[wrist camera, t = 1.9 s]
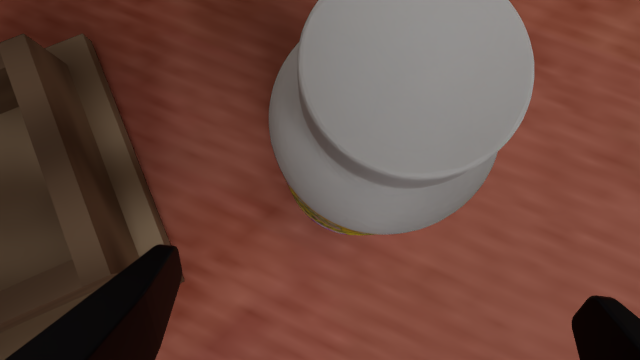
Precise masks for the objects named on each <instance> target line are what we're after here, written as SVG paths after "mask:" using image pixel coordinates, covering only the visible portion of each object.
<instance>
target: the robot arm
mask: <svg viewBox="0 0 640 360" xmlns="http://www.w3.org/2000/svg"><path fill="white" fill-rule="evenodd" d="M181 278H182V268H181V263H180V257H179V252H178V249H177V247H176V246H172V245H163V244H158V245H156V246H154V247H152V248H151V249H150V250H149V251H147V252H146V253H145V254H143V255H142V256H141V257H139V258H138V259H137V260H135V261H134V262H133V263H131V264H130V265H129V266H127V267H126V268H125V269H123V270H122V271H121V272H119V273H118V274H117V275H116V276H114V277H113V278H112V279H110V280H109V281H108V282H106V283H105V284H104V285H102V286H101V287H100V288H98V289H97V290H96V291H94V292H93V293H92V294H90V295H89V296H88V297H87V298H85V299H84V300H83V301H81V302H80V303H79V304H77V305H76V306H75V307H73V308H72V309H71V310H69V311H68V312H67V313H65V314H64V315H63V316H61V317H60V318H59V319H57V320H56V321H55V322H54V323H52V324H51V325H50V326H48V327H47V328H46V329H44V330H43V331H42V332H40V333H39V334H38V335H36V336H35V337H34V338H32V339H31V340H30V341H28V342H27V343H26V344H25V345H23V346H22V347H21V348H19V349H18V350H17V351H15V352H14V353H13V354H11V355H10V356H9V357H7V358H6V359H5V360H155V358H156V356H157V354H158V351H159V349H160V346H161V343H162V340H163V337H164V334H165V331H166V327H167V324H168V321H169V318H170V314H171V311H172V308H173V305H174V301H175V298H176V295H177V292H178V289H179V285H180V282H181ZM572 330H573V334H574V338H575V342H576V346H577V350H578V354H579V358H580V360H640V319H639V318H638V317H637V316H636V315H634V314H633V313H632V312H631V311H630V310H628V309H627V308H626V307H625V306H623V305H622V304H621V303H620V302H618V301H617V300H616V299H614V298H611V297H604V296H591V297H589V298H588V299H587V300H586V301H585V303H584V304H583V305H582V306H581V308H580V309H579V310H578V311H577V312H576V314H575V315H574V316H573V319H572Z"/></svg>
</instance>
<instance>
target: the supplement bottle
mask: <svg viewBox="0 0 640 360" xmlns="http://www.w3.org/2000/svg"><path fill="white" fill-rule="evenodd" d="M533 83H534V57H533V51H532V47H531V43H530V39H529V36H528V33H527V31H526V28H525V26H524V24H523V22H522V20H521V18H520V16H519V14H518V13H517V11H516V10H515V8H514V7H513V5H512V4H511V3H510V1H509V0H318V2H317V3H316V4H315V6H314V8H313V9H312V11H311V13H310V14H309V16H308V18H307V20H306V22H305V25H304V28H303V30H302V33H301V37H300V42H299V43H298V44H297V45H296V46H295V47H294V49H293V50H292V51H291V52H290V54H289V55H288V57H287V58H286V60H285V61H284V63H283V65H282V67H281V69H280V71H279V73H278V75H277V77H276V80H275V83H274V86H273V90H272V94H271V99H270V105H269V131H270V138H271V144H272V147H273V151H274V154H275V157H276V159H277V162H278V165H279V167H280V169H281V171H282V173H283V175H284V177H285V180H286V182H287V184H288V186H289V188H290V190H291V192H292V194H293V196H294V198H295V200H296V202H297V203H298V205H299V206H300V208H301V209H302V210H303V211H304V213H305V214H306V215H307V216H308V217H309V218H311V219H312V220H313V221H314V222H316V223H317V224H319V225H320V226H322V227H324V228H326V229H328V230H331V231H334V232H337V233H341V234H347V235H374V234H399V233H406V232H411V231H415V230H419V229H422V228H425V227H428V226H430V225H432V224H435V223H437V222H439V221H441V220H443V219H444V218H446V217H447V216H449V215H451V214H452V213H454V212H455V211H457V210H458V209H459V208H461V207H462V206H463V205H464V204H465V203H466V202H467V201H469V200H470V199H471V198H472V196H473V195H474V194H475V193H476V192H477V191H478V190H479V188H480V187H481V186H482V184H483V182H484V181H485V179H486V178H487V176H488V174H489V172H490V170H491V168H492V166H493V164H494V161H495V159H496V156H497V152H498V151H499V150H500V149H501V148H502V147H503V146H504V145H505V144H506V143H507V142H508V141H509V140H510V138H511V137H512V135H513V134H514V133H515V131H516V130H517V128H518V127H519V125H520V123H521V122H522V120H523V118H524V115H525V113H526V111H527V108H528V105H529V102H530V99H531V95H532V89H533Z"/></svg>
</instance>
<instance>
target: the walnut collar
mask: <svg viewBox="0 0 640 360" xmlns="http://www.w3.org/2000/svg"><path fill="white" fill-rule="evenodd" d="M158 244H163V245H170V242H169V240H168V237H167V235H166V232H165V229H164V227H163V224H162V222H161V219H160V217H159V214H158V211H157V209H156V206H155V204H154V201H153V199H152V196H151V193H150V191H149V188H148V186H147V183H146V181H145V178H144V175H143V173H142V170H141V168H140V165H139V163H138V160H137V157H136V155H135V152H134V150H133V147H132V145H131V142H130V139H129V137H128V134H127V132H126V129H125V127H124V124H123V121H122V119H121V116H120V114H119V111H118V109H117V106H116V103H115V101H114V98H113V96H112V93H111V91H110V88H109V85H108V83H107V80H106V78H105V75H104V73H103V70H102V67H101V65H100V62H99V60H98V57H97V55H96V52H95V49H94V47H93V44H92V42H91V41H90V40H89V39H88V38H87V37H86V36H85V35H84V34H80V35H78V36H75V37H72V38H70V39H67V40H65V41H62V42H60V43H57V44H55V45H52V46H50V47H47V48H43V47H42V46H40V45H39V44H38V43H36V42H35V41H33V40H32V39H31V38H29V37H28V36H26V35H25V34H21V35H19V36H16V37H13V38H11V39H8V40H6V41H3V42H1V43H0V360H5V359H6V358H7V357H9V356H10V355H11V354H13V353H14V352H15V351H17V350H18V349H19V348H21V347H22V346H23V345H25V344H26V343H27V342H28V341H30V340H31V339H32V338H34V337H35V336H36V335H38V334H39V333H40V332H42V331H43V330H44V329H46V328H47V327H48V326H50V325H51V324H52V323H54V322H55V321H56V320H57V319H59V318H60V317H61V316H63V315H64V314H65V313H67V312H68V311H69V310H71V309H72V308H73V307H75V306H76V305H77V304H79V303H80V302H81V301H83V300H84V299H85V298H87V297H88V296H89V295H90V294H92V293H93V292H94V291H96V290H97V289H98V288H100V287H101V286H102V285H104V284H105V283H106V282H108V281H109V280H110V279H112V278H113V277H114V276H116V275H117V274H118V273H119V272H121V271H122V270H123V269H125V268H126V267H127V266H129V265H130V264H131V263H133V262H134V261H135V260H137V259H138V258H139V257H141V256H142V255H143V254H145V253H146V252H147V251H149V250H150V249H151V248H152V247H154V246H156V245H158ZM182 282H184V278H183V276H182V278H181V282H180V283H182Z"/></svg>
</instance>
